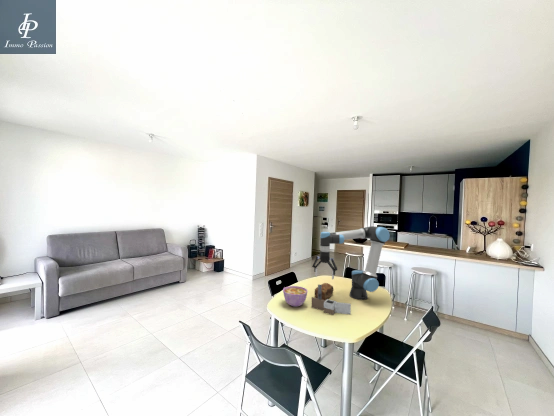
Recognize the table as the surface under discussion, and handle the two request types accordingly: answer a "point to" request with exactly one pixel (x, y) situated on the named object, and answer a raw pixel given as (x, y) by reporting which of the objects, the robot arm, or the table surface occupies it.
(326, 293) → the bread
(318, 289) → the hinge pin
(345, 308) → the hinge leaves
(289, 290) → the bowl of food
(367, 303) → the table surface
